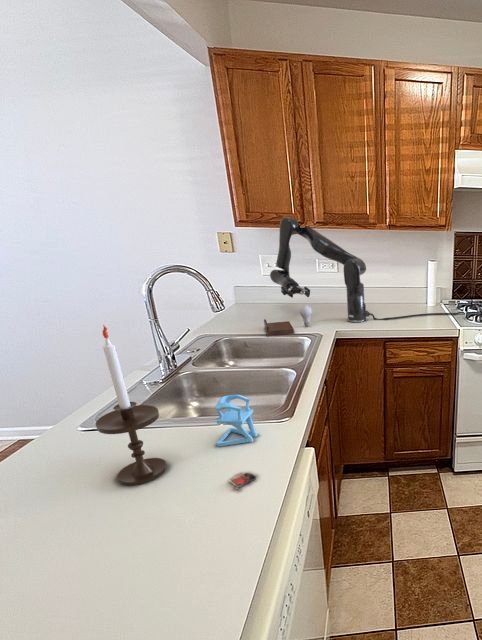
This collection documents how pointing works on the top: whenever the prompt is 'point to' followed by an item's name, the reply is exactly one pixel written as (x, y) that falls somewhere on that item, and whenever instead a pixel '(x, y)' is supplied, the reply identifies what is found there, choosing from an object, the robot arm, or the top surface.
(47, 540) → the top surface
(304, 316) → the lightbulb
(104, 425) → the candlestick
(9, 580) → the top surface
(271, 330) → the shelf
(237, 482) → the matchbox
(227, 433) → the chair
